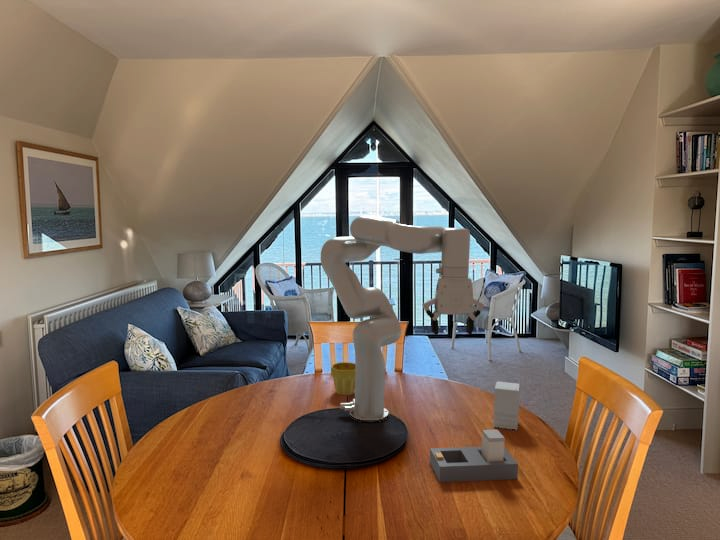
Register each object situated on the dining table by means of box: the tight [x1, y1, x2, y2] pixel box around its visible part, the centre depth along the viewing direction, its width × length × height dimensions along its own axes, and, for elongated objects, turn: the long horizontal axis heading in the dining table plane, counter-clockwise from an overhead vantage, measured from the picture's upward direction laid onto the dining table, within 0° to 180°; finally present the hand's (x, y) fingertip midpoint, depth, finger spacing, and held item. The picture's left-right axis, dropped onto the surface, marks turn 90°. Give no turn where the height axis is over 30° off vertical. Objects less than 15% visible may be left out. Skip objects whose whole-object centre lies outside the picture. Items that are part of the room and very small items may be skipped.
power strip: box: [429, 446, 519, 483], centre depth 136 cm, size 20×10×5 cm, turn 96°
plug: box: [481, 429, 506, 462], centre depth 136 cm, size 4×5×10 cm
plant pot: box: [330, 361, 355, 396], centre depth 192 cm, size 10×10×10 cm
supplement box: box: [493, 381, 520, 431], centre depth 166 cm, size 7×7×13 cm
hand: (452, 333), depth 148 cm, fingers open, 9 cm apart
